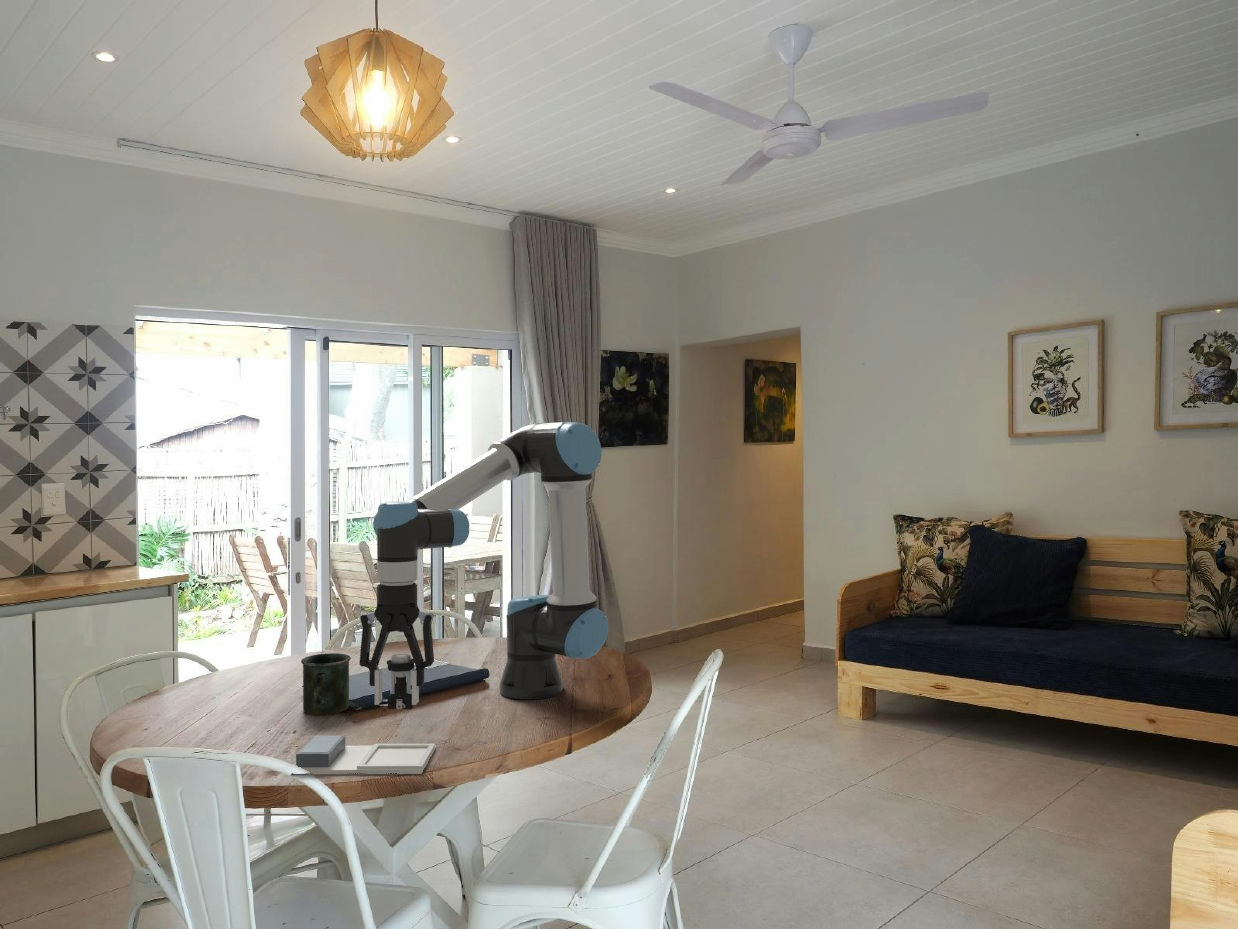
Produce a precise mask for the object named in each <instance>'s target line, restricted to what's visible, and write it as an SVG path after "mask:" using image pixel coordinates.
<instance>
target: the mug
mask: <svg viewBox="0 0 1238 929" xmlns="http://www.w3.org/2000/svg"><path fill="white" fill-rule="evenodd" d="M351 659H352V656H350V655H348V654H345V653H338V652H337V653H335V652H334V653H333V652H332V653H330V652H328V653H319V654H312V655H309V656H308V655H307V656H306V657H303V658H302V659H301V660H300V663H301V664H302V685H303V686H302V702H303V703H302V705H303V706H302V711H303V712H304V714H306V715H308V716H316V717H321V716H323V717H324V716H330V715H335V714H339V713H342V712H345V711H346V710H348V708H349V707H350V661H351ZM348 701H349V702H348Z"/></svg>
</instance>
